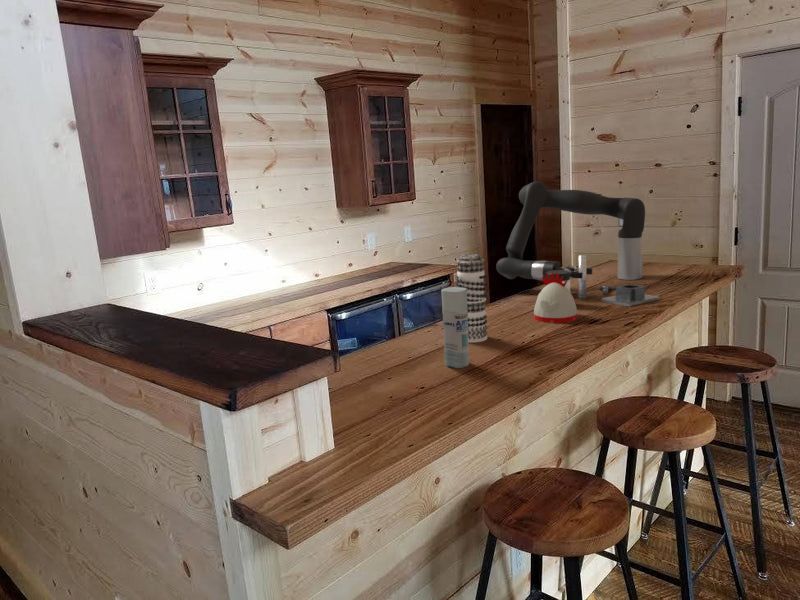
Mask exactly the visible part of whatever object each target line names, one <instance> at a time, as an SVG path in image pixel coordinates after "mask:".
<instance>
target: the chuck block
mask: <svg viewBox="0 0 800 600" xmlns="http://www.w3.org/2000/svg"><path fill="white" fill-rule="evenodd" d="M600 300H601V302H602V303H608V304H612V305H618V306H624V307H627V306H628V307H633V305H634V306H638V305H641V304H646V303H651V302H655V301H660V296H657V295H651V294H646V286H645V285H640V284H634V283H628V284H620V285H616V290H615V295H612V296H608V297H602V298H601V299H600Z"/></svg>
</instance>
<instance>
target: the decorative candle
mask: <svg viewBox="0 0 800 600" xmlns="http://www.w3.org/2000/svg"><path fill="white" fill-rule="evenodd" d="M484 261H485V259H483V258H482V256H481V255H480V254H475V253H471V254H463V255H461V256H460V257H459V258H458V259H457V260H456V263H457V271H456V273H457V274H456V277H455V278H454V279H455V281H456V282H455V287H464V288H466V289H467V310H468V343H481V342H486V340H487V339H488V331H487V330H488V326H487V325H486V324H487V323H488V321H487V320H486V319H487V317H488V316H487V315H486V304H485V302H487V301H486V300H487V297H488V296H487V294H486V293H485V292H486V291H487V290H488V288H487V287H486V285H487V284H488V283H487V281H485V280H486V279H487V278H488V276H487V275H486V274H485V267H484V266H485V265H484Z"/></svg>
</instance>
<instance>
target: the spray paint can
mask: <svg viewBox="0 0 800 600" xmlns="http://www.w3.org/2000/svg"><path fill="white" fill-rule="evenodd" d="M440 293H441V305H442V307H441V308H442V311H441V312H442V326H443V328H442V329H443V345H444V346H443V348H444V349H443V350H444V365H445V366H446V367H447V368H452V369H461V368H465V367H468V366H469V364H470V353H469V352H470V351H469V348H470V346H469V343H470V342H468V310H467V289H466V288H464V287H458V286H450V287H444V288H442V289H441V292H440Z"/></svg>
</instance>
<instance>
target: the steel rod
mask: <svg viewBox="0 0 800 600" xmlns="http://www.w3.org/2000/svg"><path fill="white" fill-rule="evenodd" d="M577 257H578V259H577V263H578V265H577V266H578V269H577V271H578V272H582V273H583V277H582V278H577V280H578V285H577V287H578V292H577V294H578V296H577V297H578V298H577V299H579V300H586V299H587V274H586V268H587V255H586V254H579V255H578V256H577Z"/></svg>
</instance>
